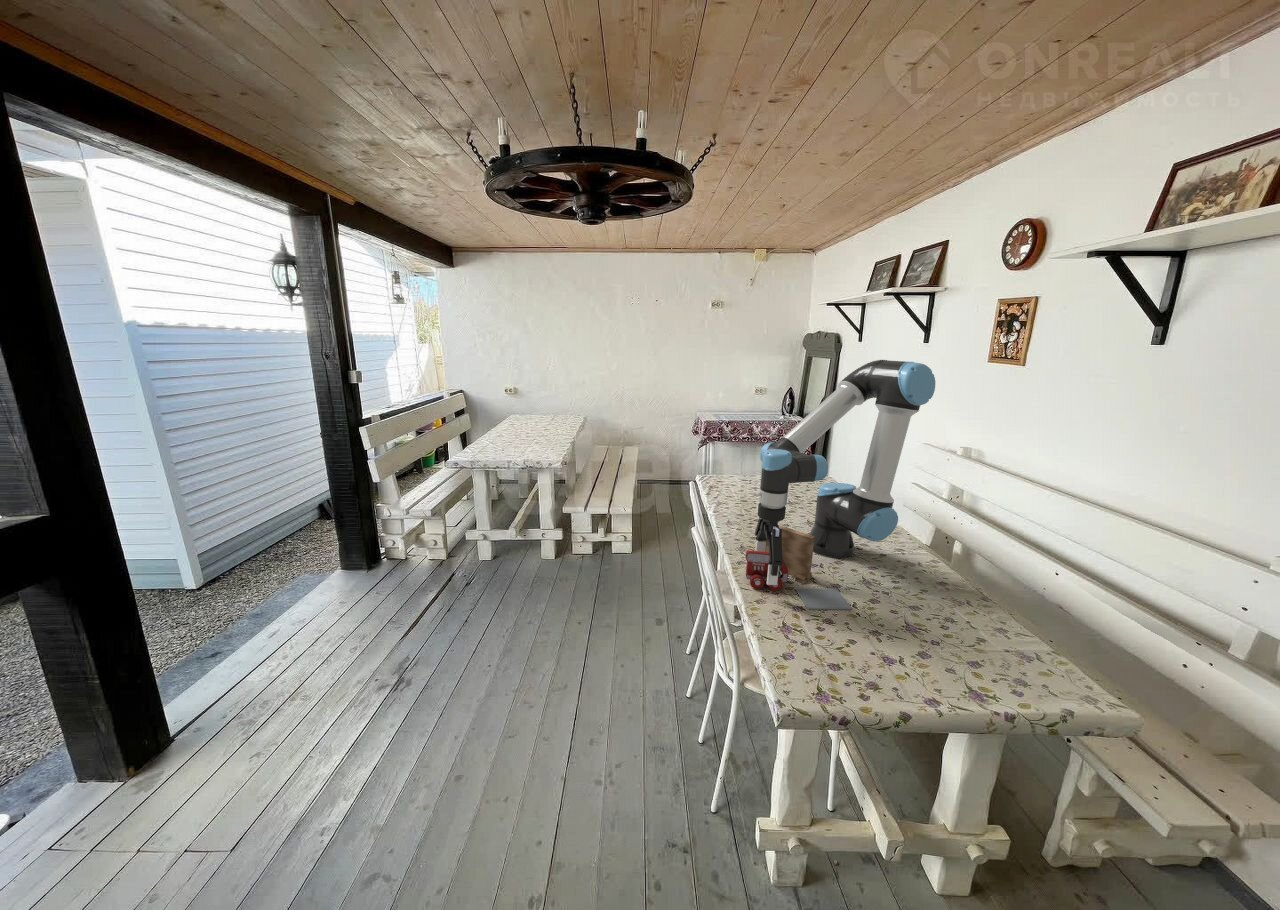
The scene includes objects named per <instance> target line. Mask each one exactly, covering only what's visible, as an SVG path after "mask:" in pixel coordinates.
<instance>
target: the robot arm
mask: <svg viewBox="0 0 1280 910" xmlns="http://www.w3.org/2000/svg"><path fill="white" fill-rule="evenodd" d="M935 391H936V377H935V375H934V373H933V370H932V369H931V368H930V367H929V366H928V365H926V364H924V363H921V362H914V361H905V360H904V361H900V360H888V359H877V360H872V361H870V362H868V363H865V364H864V365H861V366H860V367H858V368H856V369H854V370H853V371H852V372H850V373H849V374H848V375H847V376H845V377H844V378H843V379H842V380H841V381H840V382H839V383H838V385H837V388H836V389H835V390H834V391H833V392H831V394H830V395H829V396H827V397H826V398H825V399H824V400H823V401H821V403H820V404H818V405H817V406H816V407H815V408H814V409H813V410H812V411H811V412H809V413H808V414H807V415H806V416H805V417H804V418H803V419H802V420H801V421H799V422H798V423H796V425H795V426H794V427H793V428H792V429H790V430H789V431H788V432H787V433H786V434H785V435H784V436H783V437H781V438H780V439H779V440H778V441H777V442H774V441H773V442H767V443H765V444H764V445H763V446H762V447H761V449H760V451H759V457H760V460H761V462H762V463H761V472H760V473H761V474H760V475H761V476H760V485H759V486H760V487H759V492H758V493H757V496H758V502H759V503H758V505H757V507H758V508H757V516H758V522H757V524H756V527H755V531H754V536H755V540H756V543H755V551H762V552H765V546H766V542H765V541H763V540H767V541H768V546H769V555H770V562H768V565H769V566H768V575H767V581H766V585H767V586H768V585H777V580H778V572H779V566H782V565H783V559H782V529H779V522H782V521H784V519H785V518H786V510H787V507H786V506H787V504H788V503H787V502H788V495H789V494H788V493H789V485H790V484H800V483H813V482H818V481H822V480H824V479H825V478H826V477H827V475H828V472H829V465H828V462H827V459H826V458H825V457H824V456H823V455H820V454H814V453H813V454H804V452H805V451H806V450H807V449H808V448H809V447H810V446H811V445H813V444H814V443H815V442H816V441H817V440H819V438H821V437H822V436H823V435H824V434H825V433H826V432H827V431H828V430H830V429H831V428H832V427H833V426H835V424H836V423H837V422H838V421H840V420H841V419H842V418H843V417H844V416H845V415H846V414H847V413H849V412H850V411H851V410H852V409H853V408H854V407H855V406H861V405H863V404H864V403H865V402H867V400H870V399H875V398H876V399H875V404H874V405H875V407H876V408H877V410H878V412H877V413H878V414H877V418H876V420H875V426H874V430H873V433H872V438H871V441H870V445H869V449H868V453H867V456H866V461H865V464H864V468H863V472H862V476H861V479H860V484H859V486H858V487H857V486H856V485H854V484H850V483H843V482H827V483H823V484H821V485H820V486H819V488H818V491H817V495H816V496H817V497H816V505H815V506H816V507H815V516H814V517H815V518H814V524H813V526H812V528H811V530H810V532H809V535H812V536H815V538H814V546H813V553H816V554H818V555H821V556H823V557H829V558H837V559H841V558H843V559H844V558H848V557H851V556H852V555H853V554H854V551H855V550H854V549H855V543H854V540H853V539H854V538H853V535H852V533H854V534H855V535H857V536H858V537H860V538H862V539H865V540H867V541H869V542H873V543H875V542H881V541H883V540H885V539H887V538H888V537H889V536H891V535H892V533H894V531H895V530H896V528H897V526H898V523H899V516H898V512H897V511H896V510H895V509H894V508H893V506H894V502H895V499H894V498H893V496H892V495H891V493H892V488H893V484H894V481H895V477H896V473H897V470H898V465H899V463H900V458H901V455H902V451H903V449H904V444H905V440H906V436H907V434H908V433H907V432H908V428H909V425H910V422H911V419H912V416H914V415H916V414H917V413H918V412H919V411H920V408H921V406H923V405H926V404H927V403H929V401H930V400H931V399H932V398H933V396H934V393H935Z"/></svg>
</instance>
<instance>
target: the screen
mask: <svg viewBox="0 0 1280 910" xmlns="http://www.w3.org/2000/svg"><path fill="white" fill-rule="evenodd" d="M778 525H779V524H778ZM779 529H782V559H783V560H784V562H785V565H786V567H787V569H788V576H789V575H790V576H791V577H795V578H794V580H795V581H796V582H798V583H800V584H804V583H806V582H808V581H809V580H810V578H811V577H812V576H813V572H811V571H812V562H813V554H814V552H813V546H814V538H815V536H812V535H809V534H810V533H809V534H808V533H806V532H805V533H804V532H803V531H799V530H796V529H792V528H789V527H786V526H783V525H779ZM763 541H765V542H766V546H765V552H769V546H768V541H767V540H763ZM780 569H781V566H780ZM780 572H781V570H780Z"/></svg>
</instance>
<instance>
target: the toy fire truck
mask: <svg viewBox="0 0 1280 910" xmlns="http://www.w3.org/2000/svg"><path fill="white" fill-rule="evenodd" d="M745 560H746V567H745V577H746V580H749V585H750V586H751V588H753V589H755V590H760V589H762V588H764V586H765V582H767V575H768V566H769V565H768V562H770V555H769V552H762V551H756V550H747V551H746V552H745ZM780 570H781V571H780ZM788 578H789V574H788V569H787V567H786V565H785V562H784V560H783V565H782V566H781V569H780V566H779V572H778V580H777V585H767V586H768V588H769V589H770V591H774V592H777V591H778V592H779V591H780V590H781V589H782V588H783V586H784V585H783V584H785V583H787V582H788Z"/></svg>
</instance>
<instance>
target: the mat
mask: <svg viewBox="0 0 1280 910" xmlns="http://www.w3.org/2000/svg"><path fill="white" fill-rule="evenodd" d="M794 590H795V591H796V593H797V594H798V596H799V598H800V599H801V601H802V602H803V604H804V606H805V607H806V609H807V610H815V611H816V610H817V611H824V610H825V611H828V610H829V611H830V610H831V611H835V610H837V611H838V610H839V611H842V610H843V611H845V610H847V611H852V610H853V608H852V606H851V605H850V604H849V602H848V601H847V600H846V598H844V596H843V595H842V593H841V592H840V591H839V589H838V588H819V587H817V588H815V587H814V588H807V587H806V588H797V587H796V588H795V589H794Z"/></svg>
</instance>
